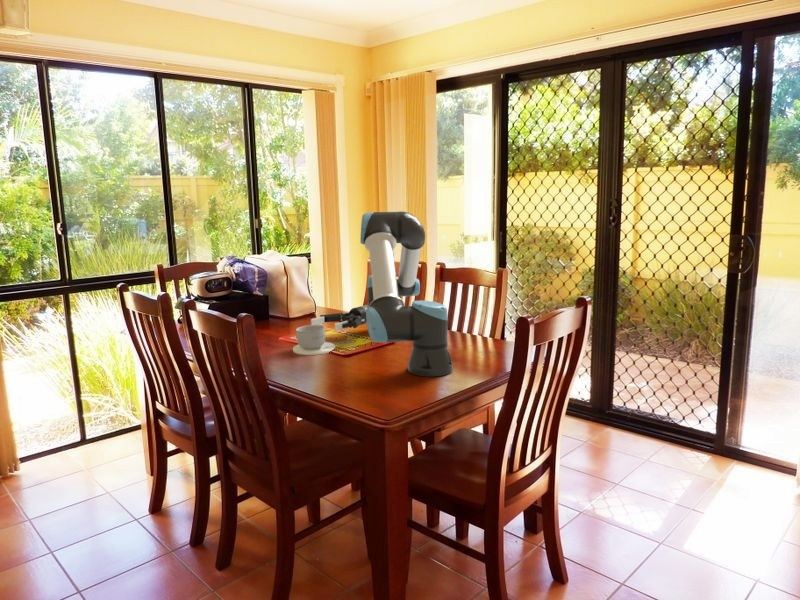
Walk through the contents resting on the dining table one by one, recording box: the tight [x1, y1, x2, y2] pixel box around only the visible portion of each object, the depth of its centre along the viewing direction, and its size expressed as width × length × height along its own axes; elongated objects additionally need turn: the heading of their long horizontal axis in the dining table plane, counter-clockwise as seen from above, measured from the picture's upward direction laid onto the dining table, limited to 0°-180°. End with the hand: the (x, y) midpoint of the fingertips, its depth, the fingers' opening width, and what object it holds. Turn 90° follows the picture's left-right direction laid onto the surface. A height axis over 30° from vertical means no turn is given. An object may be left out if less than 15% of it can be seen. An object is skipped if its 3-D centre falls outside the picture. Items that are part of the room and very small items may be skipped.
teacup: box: [295, 324, 326, 350], centre depth 227 cm, size 14×11×8 cm
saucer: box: [292, 341, 336, 356], centre depth 228 cm, size 16×16×1 cm
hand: (323, 325), depth 231 cm, fingers open, 13 cm apart
